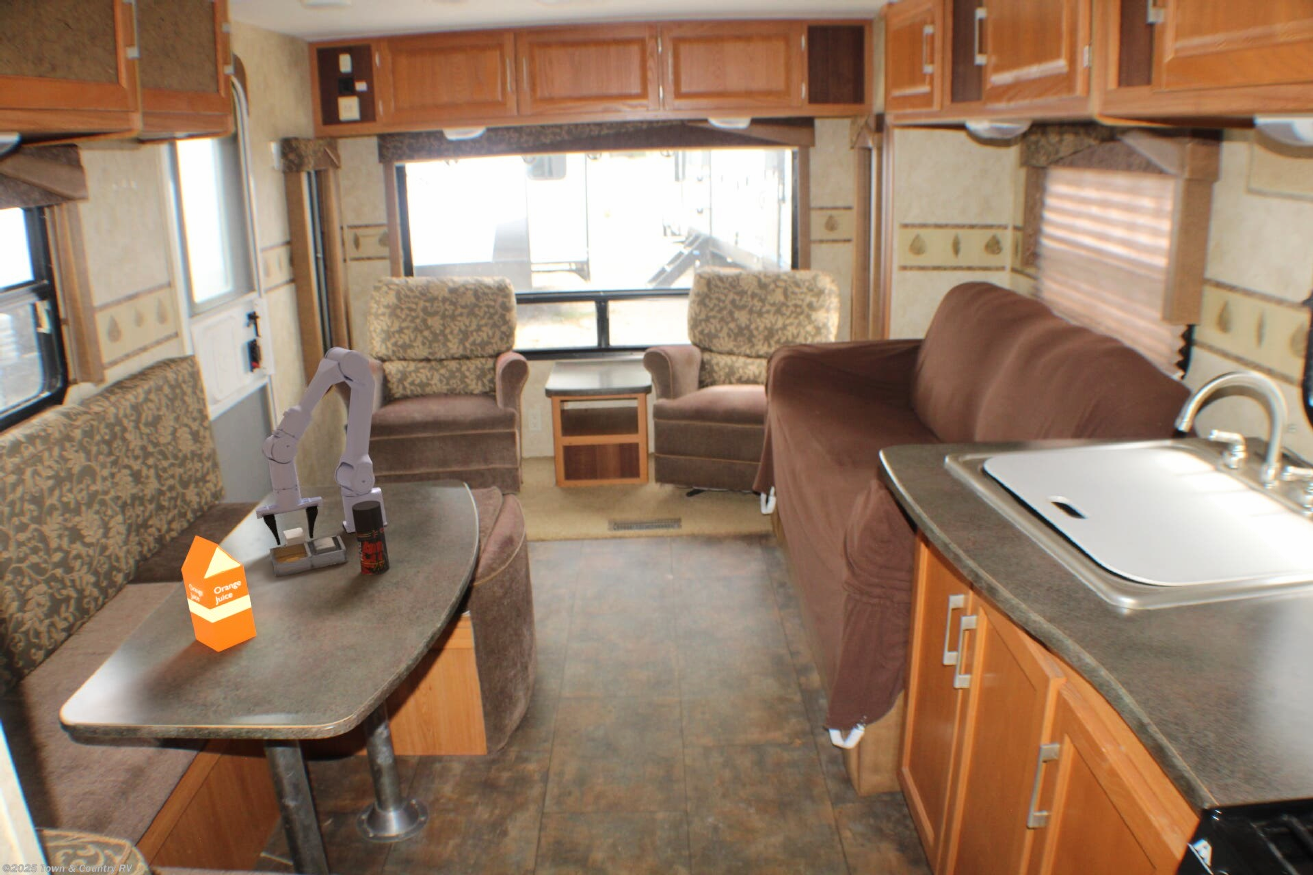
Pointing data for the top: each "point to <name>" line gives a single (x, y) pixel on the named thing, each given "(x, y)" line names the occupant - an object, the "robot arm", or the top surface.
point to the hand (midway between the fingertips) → (295, 540)
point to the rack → (308, 555)
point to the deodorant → (370, 537)
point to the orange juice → (217, 596)
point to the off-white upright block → (294, 536)
